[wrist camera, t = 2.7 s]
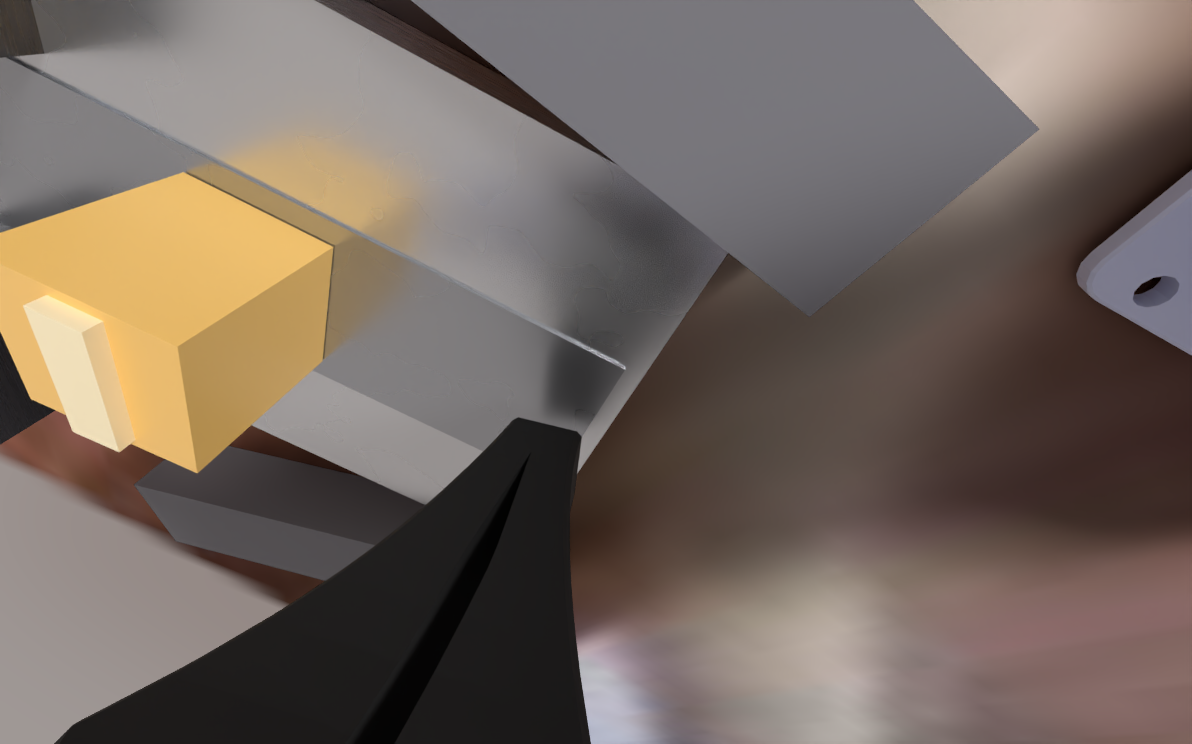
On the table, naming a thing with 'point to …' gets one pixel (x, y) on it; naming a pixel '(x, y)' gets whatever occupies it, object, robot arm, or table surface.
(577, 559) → the table surface
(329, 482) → the duct
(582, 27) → the duct
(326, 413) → the panel
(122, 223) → the orange l block
